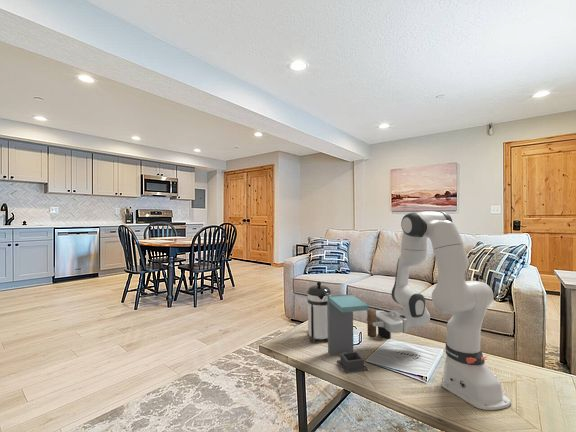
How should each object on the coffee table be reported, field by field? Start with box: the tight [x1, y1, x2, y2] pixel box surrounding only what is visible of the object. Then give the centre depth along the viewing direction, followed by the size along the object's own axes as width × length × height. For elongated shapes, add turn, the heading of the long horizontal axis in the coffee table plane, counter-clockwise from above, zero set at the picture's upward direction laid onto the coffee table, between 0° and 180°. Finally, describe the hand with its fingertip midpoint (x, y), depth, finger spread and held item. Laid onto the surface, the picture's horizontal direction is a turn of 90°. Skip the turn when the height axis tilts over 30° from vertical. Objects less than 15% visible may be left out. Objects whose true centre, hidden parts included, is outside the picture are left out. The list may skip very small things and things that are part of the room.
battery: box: [377, 326, 392, 339], centre depth 158 cm, size 7×4×11 cm, turn 54°
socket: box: [336, 351, 369, 374], centre depth 127 cm, size 10×10×4 cm
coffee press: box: [306, 281, 332, 343], centre depth 158 cm, size 17×16×30 cm
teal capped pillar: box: [327, 293, 370, 355], centre depth 132 cm, size 18×12×27 cm, turn 12°
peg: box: [366, 308, 377, 338], centre depth 139 cm, size 4×4×12 cm
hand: (370, 322), depth 139 cm, fingers closed on peg, 4 cm apart
